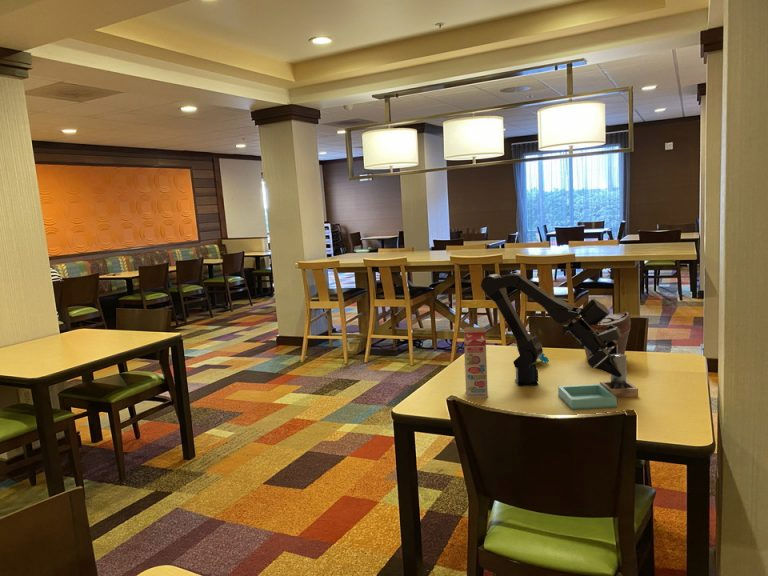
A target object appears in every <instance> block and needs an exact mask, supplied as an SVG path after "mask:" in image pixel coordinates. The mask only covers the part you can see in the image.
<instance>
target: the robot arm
mask: <svg viewBox="0 0 768 576" xmlns="http://www.w3.org/2000/svg"><path fill="white" fill-rule="evenodd" d="M480 287H481V290H482V291H483V292H484V294H485V295H486V296H487V297H488V298H489V299H490V300H491V301H492V302H494V304H495V306H497V308H498V311H500V314H501V315H502V317H503V319H504V321H505V323H506V324H507V326H508V328H509V330H510V331H511V334H512V335H513V337H514V339H515V342H516V347H517V349H516V350H517V351H518V354H519V356H518V357H516V358H515V359H514V360H513V365H514V368H515V379H514V382H515V383H516V385H517V386H518V387H524V386H528V387H529V386H539V383H538V382H539V370H538V369H537V361H538V360H540V359H539V358H540V357H541V355H542V353H543V352H544V350H543V344H542V343H541V342H540V340H539V337H538V335H534V336H532V335H531V334H530V333H529V332H528V331H527V329H526V327H525V325H524V323H523V321H522V319H521V318H520V316H519V314H518V313H517V311H516V309H515V307H514V305H513V304H512V302H511V300H510V299H509V296H508V291H507V288H509V287H510V288H511V287H515V288H516V289H517V290H519V291H520V292H521V293H523V294H524V295H526V296H527V297H529V298H530V299H531V300H533V301H534V302H536V303H537V304H539V306H541V307H542V308H543V309H544V310H545V312H546V313H547V315H548V316H550V317H551V319H552V320H553V321H554V322H556V323H558V324H563V325H562V326H561V327H562V332H561V334H562V335H563V336H564V335H565V334H567V333H568V332H569V334H571V335H572V336H573V337H574V338H575V339H576V340H577V341H578V342H579V343H580V344H579V346H580V347H581V348H584V347H585V348H586V349H587V350H588V351H589V352H590V353H591V354H590V356H591V357H590V358H589V359H587V365H588V366H589V368H591V369H593V368H594V369H597V370H600V371H602V372H605V373H608V374H609V375H611V374H612V375H615V376H617V377H621V376H622V374H621V373H620V371H619V370H618V369H617V367H616V366H615V365H614V363H613V362H612V361H611V354H618V344H617V341H616V340H618V339H620V338H621V336H622V335H621V333H620V329H619V328H618V327H615V326H614V325H613V324H612V325H609V326H608V327H607V331H604V332H602V333H600V332H599V331H598V330H596V331H594V330H593V329H592V328H591V327H590V326H589V325H595V326H596V325H598V324H599V323H600V322H601V321H602V320H603V319H604V318H605V317H607V316H608V315H611V314H610V313H611V312H610V310H609V309H608V307H606V305H605V304H604V303H602V302H600V301H599V300H596V299H595V298H592V299H591V300H589V301H588V303H587V304H586V305H585V306H584V307H578V306H573V305H572V304H571V303H569V302H567V301H565V300H562V299H560V298H556V297H555V296H552V295H551V294H549V293H548V292H546V291H545V290H543V289H542V288H541V287H539V286H538V285H536V284H535V283H534V282H532V281H531V280H529V279H528V278H526V277H525V276H524V275H523V274H522V273H521V272H515V273H511V274H504V275H500V274H498V273H497V274H496V273H493V274H490V275H487V276H484V277H483V278H482V280H481V282H480ZM580 315H581V317H580V318H579V316H580ZM576 318H578V319H577V320H576ZM582 318H583V319H582ZM570 320H571V321H570ZM567 322H569V323H567ZM566 323H567V324H566ZM588 324H589V325H588ZM616 344H617V345H616ZM614 345H616V346H615V347H614ZM543 354H544V353H543ZM626 369H627V366H626Z"/></svg>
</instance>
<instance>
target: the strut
mask: <svg viewBox="0 0 768 576" xmlns="http://www.w3.org/2000/svg"><path fill="white" fill-rule="evenodd" d="M611 361H612V362H613V363H614V365H615V366H616V367H617V369H618V370H619V371H620V373H621V374H622V376H621V377H617V376H615V375H612V374H610V381H611V389H621V388H626V380H627V368H626V367H627V355H626V353H625V354H611Z"/></svg>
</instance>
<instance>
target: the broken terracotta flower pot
mask: <svg viewBox="0 0 768 576" xmlns="http://www.w3.org/2000/svg"><path fill="white" fill-rule="evenodd" d="M580 317H581V315H579V316H578V319H579V318H580ZM582 319H583V318H582ZM612 324H613V325H614V326H615V327H618V328H619V329H620V333H621V335H622V336H621V338H620V339H618V340H616V341H617V344H618V354H625V355H626V348H627V343H628V339H629V335H630V330H631V325H632V322H631V316H630V313H629V312H627V311H623V312H619V313H614V314H613V313H612V314H609V315H608V316H607V317H605V318H604V319H603V320H602V321H601V322H600V323H599V324H598V325H596V326H595V325H589V324H588V325H589V326H590V327H591V328H592V329H593V330H594V331H596V330H598V331H599V332H600V333H602V332H604V331H607V327H608V326H609V325H612ZM617 344H616V345H617ZM616 345H614V347H615V346H616ZM583 348H584V353H585V357H586V359H587V360H588V359H589V358H590V357H591V356H590V354H591V353H590V352H589V351H588V350H587V349H586V348H585V347H584V346H583Z"/></svg>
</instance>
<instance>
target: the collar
mask: <svg viewBox="0 0 768 576" xmlns="http://www.w3.org/2000/svg"><path fill="white" fill-rule="evenodd" d="M599 384H601V385H602V386H603V387H604V388H606V389H607V390H608V391H609V392H610V393H612V394H613V395H614V396H615V397H617V399H619V398H638V397H639V387H636V386H635V385H633V384H632V383H631V382H629V381H628V380H627V379H626V388H621V389H611V380H610V381H599Z"/></svg>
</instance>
